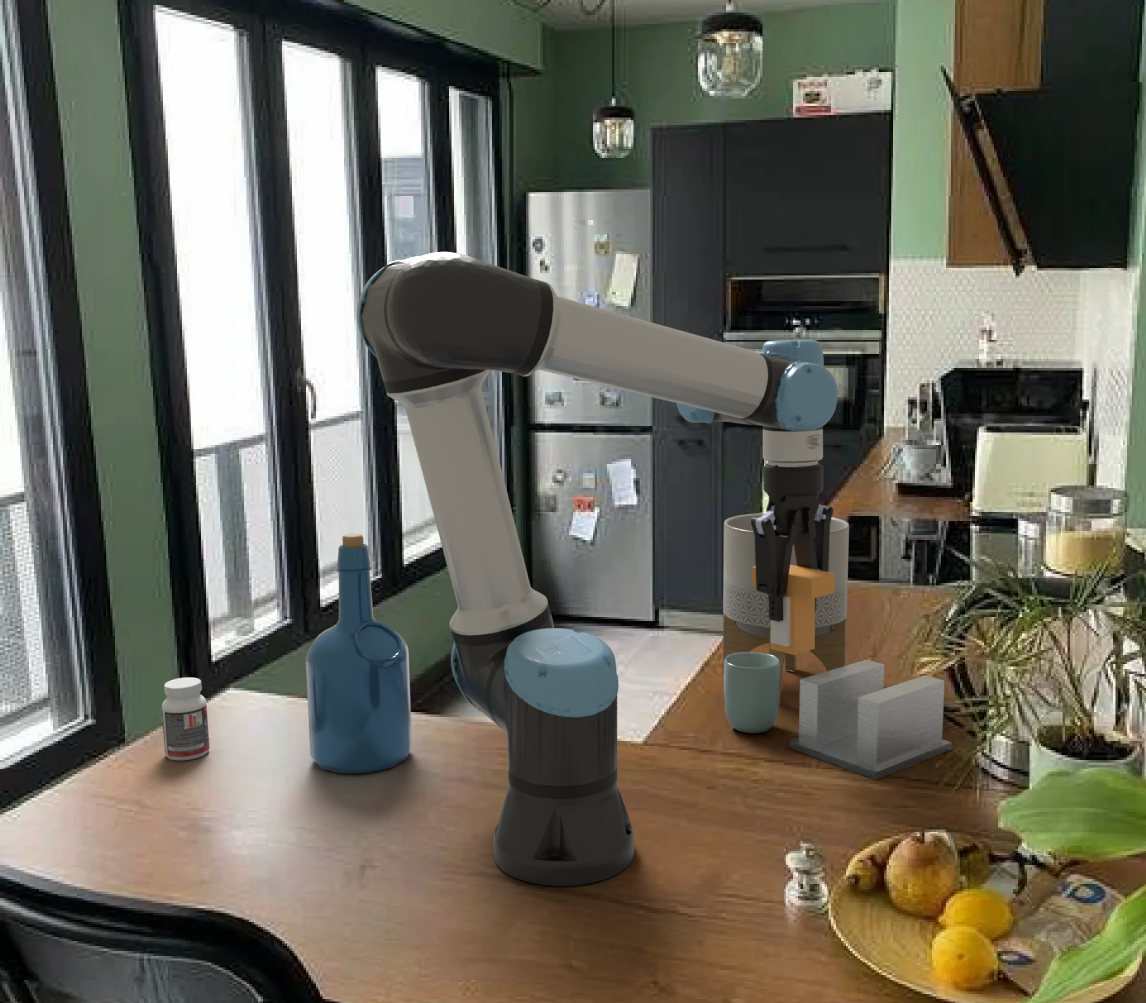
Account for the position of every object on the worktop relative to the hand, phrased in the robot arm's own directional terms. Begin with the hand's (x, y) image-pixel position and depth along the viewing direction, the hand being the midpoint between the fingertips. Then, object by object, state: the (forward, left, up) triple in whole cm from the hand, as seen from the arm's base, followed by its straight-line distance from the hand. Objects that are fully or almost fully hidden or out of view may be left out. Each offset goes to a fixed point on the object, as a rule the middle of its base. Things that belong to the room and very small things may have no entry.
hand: (792, 640), depth 148 cm
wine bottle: (-45, +35, -16) cm, 59 cm away
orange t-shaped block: (0, 0, -1) cm, 1 cm away
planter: (+21, +20, -16) cm, 32 cm away
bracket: (+9, -6, -15) cm, 19 cm away
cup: (+3, +10, -16) cm, 19 cm away
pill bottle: (-62, +51, -16) cm, 82 cm away
